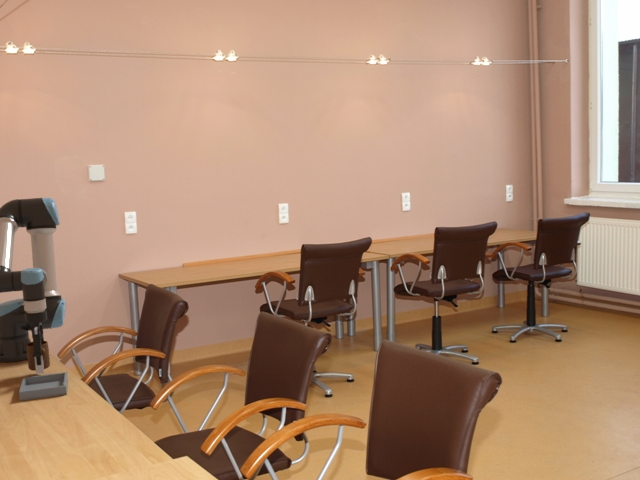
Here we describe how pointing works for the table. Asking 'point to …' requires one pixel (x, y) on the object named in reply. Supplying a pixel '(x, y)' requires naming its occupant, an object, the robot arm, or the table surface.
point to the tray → (43, 386)
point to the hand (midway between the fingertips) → (41, 368)
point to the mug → (44, 352)
